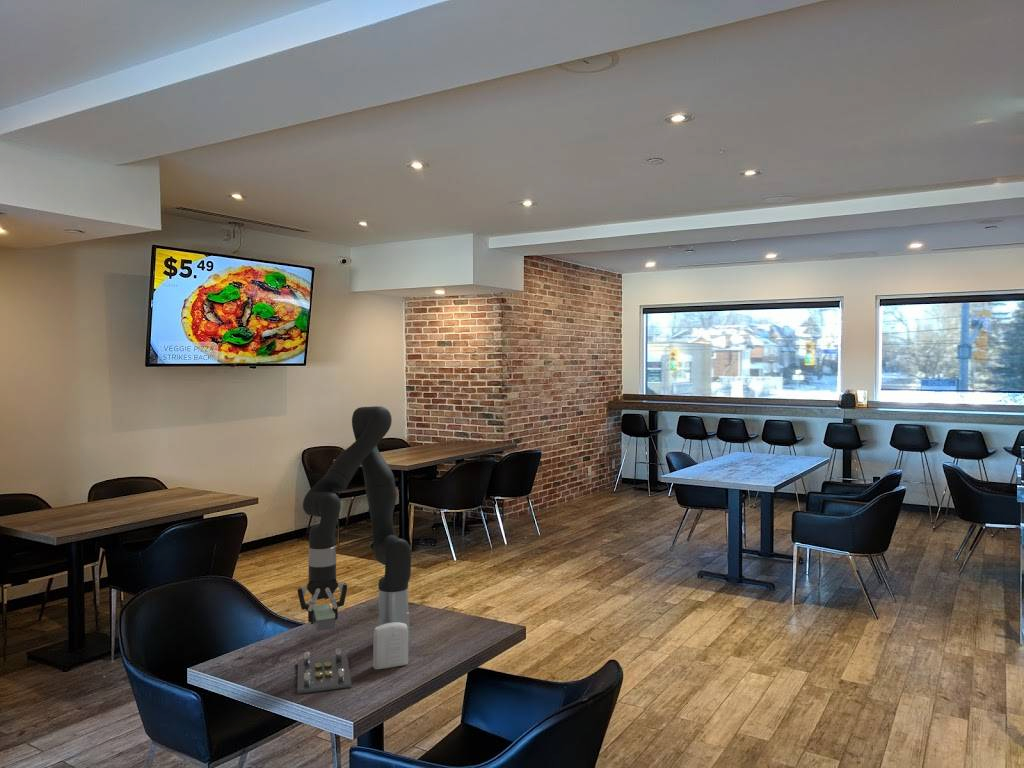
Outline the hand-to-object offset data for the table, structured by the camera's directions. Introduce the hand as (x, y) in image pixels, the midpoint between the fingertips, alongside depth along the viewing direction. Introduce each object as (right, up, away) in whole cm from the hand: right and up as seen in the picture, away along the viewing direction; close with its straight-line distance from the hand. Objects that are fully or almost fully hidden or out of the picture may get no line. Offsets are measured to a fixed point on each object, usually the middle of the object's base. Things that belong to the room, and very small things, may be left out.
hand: (322, 621), depth 203 cm
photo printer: (+18, -15, +6) cm, 24 cm away
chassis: (0, -15, 0) cm, 15 cm away
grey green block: (0, -1, 0) cm, 1 cm away
